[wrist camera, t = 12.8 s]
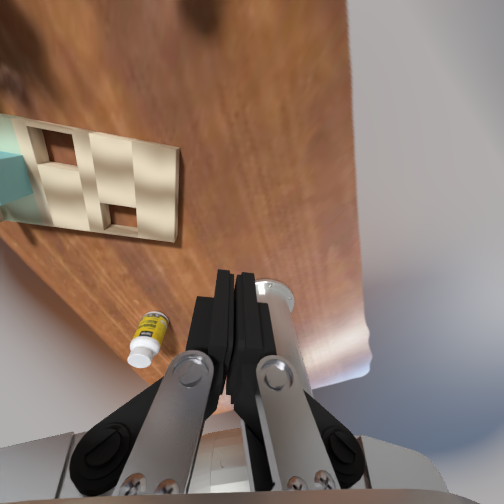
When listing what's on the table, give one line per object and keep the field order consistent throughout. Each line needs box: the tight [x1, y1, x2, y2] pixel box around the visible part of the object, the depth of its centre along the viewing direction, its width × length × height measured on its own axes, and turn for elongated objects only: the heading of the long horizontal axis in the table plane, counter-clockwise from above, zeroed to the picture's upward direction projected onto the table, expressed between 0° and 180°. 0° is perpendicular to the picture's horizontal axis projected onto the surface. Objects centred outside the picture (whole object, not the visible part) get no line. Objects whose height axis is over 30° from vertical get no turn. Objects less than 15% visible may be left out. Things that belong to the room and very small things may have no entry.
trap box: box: [0, 113, 180, 242], centre depth 31 cm, size 14×25×5 cm, turn 79°
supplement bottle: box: [128, 311, 169, 368], centre depth 44 cm, size 5×5×10 cm
